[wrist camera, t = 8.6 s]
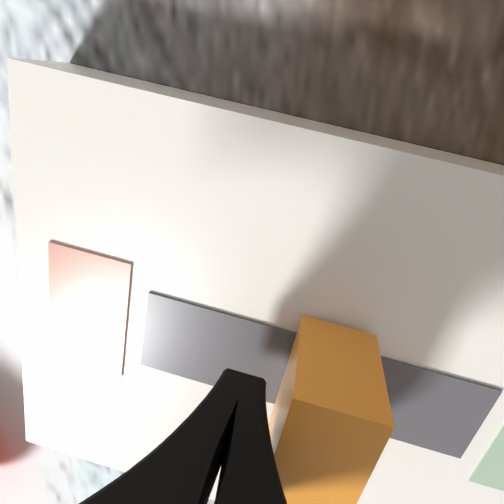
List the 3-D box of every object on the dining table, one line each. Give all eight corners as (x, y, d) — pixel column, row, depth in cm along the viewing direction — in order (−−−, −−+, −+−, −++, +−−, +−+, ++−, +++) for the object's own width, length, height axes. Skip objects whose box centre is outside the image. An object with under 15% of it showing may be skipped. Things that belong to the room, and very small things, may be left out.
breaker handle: (376, 335, 12) (394, 427, 9) (331, 444, 15) (332, 552, 11) (302, 315, 13) (292, 398, 9) (268, 425, 15) (250, 526, 11)
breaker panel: (718, 216, 12) (832, 254, 10) (489, 523, 19) (517, 599, 16) (68, 62, 14) (4, 57, 11) (65, 394, 21) (24, 442, 18)
